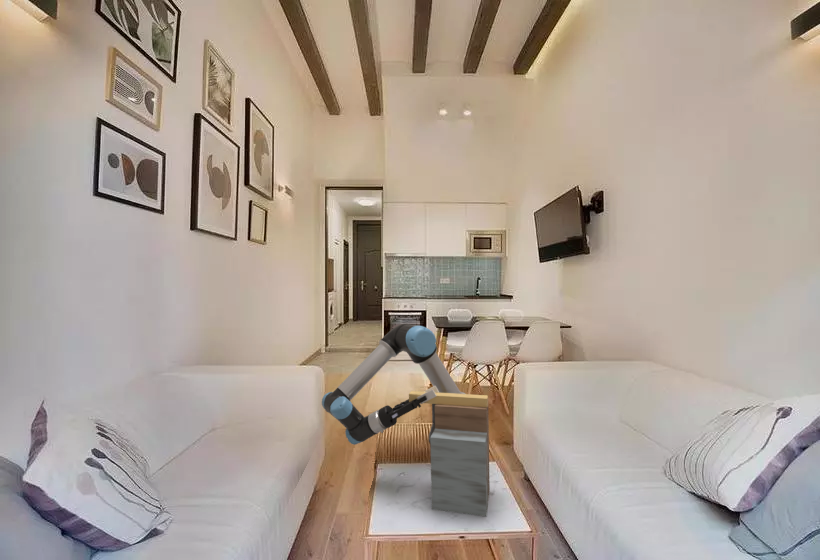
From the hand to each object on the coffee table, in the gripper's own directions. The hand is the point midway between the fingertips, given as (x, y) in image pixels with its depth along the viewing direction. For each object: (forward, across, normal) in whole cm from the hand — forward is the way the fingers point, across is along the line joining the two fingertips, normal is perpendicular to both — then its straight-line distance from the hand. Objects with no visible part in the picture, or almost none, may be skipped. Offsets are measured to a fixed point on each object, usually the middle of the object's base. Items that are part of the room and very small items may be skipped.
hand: (435, 390), depth 145 cm
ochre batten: (+2, 0, -6) cm, 6 cm away
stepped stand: (-10, +4, -36) cm, 38 cm away
